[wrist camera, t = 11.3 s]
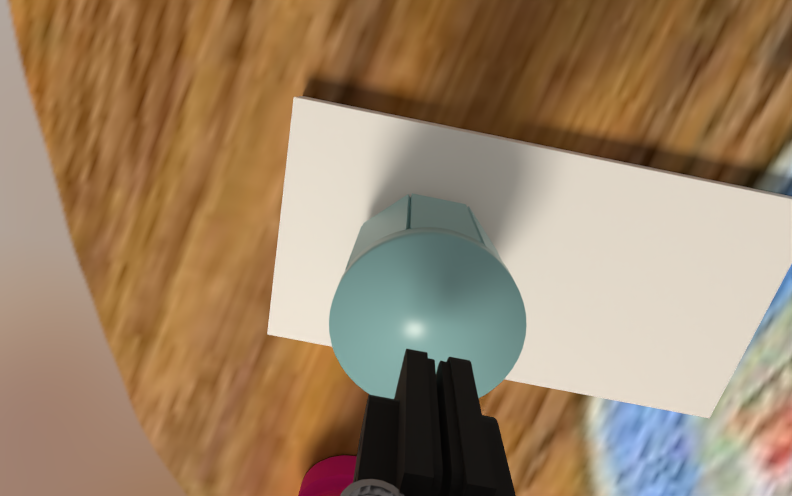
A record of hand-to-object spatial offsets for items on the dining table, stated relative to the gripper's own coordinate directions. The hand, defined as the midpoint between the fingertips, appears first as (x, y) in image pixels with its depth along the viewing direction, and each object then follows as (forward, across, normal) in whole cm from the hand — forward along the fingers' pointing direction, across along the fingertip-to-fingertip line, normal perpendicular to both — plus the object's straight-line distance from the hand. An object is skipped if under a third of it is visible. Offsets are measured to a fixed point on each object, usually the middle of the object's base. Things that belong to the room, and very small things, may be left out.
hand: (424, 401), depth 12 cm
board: (+13, -5, 0) cm, 14 cm away
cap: (+10, 0, 0) cm, 10 cm away
